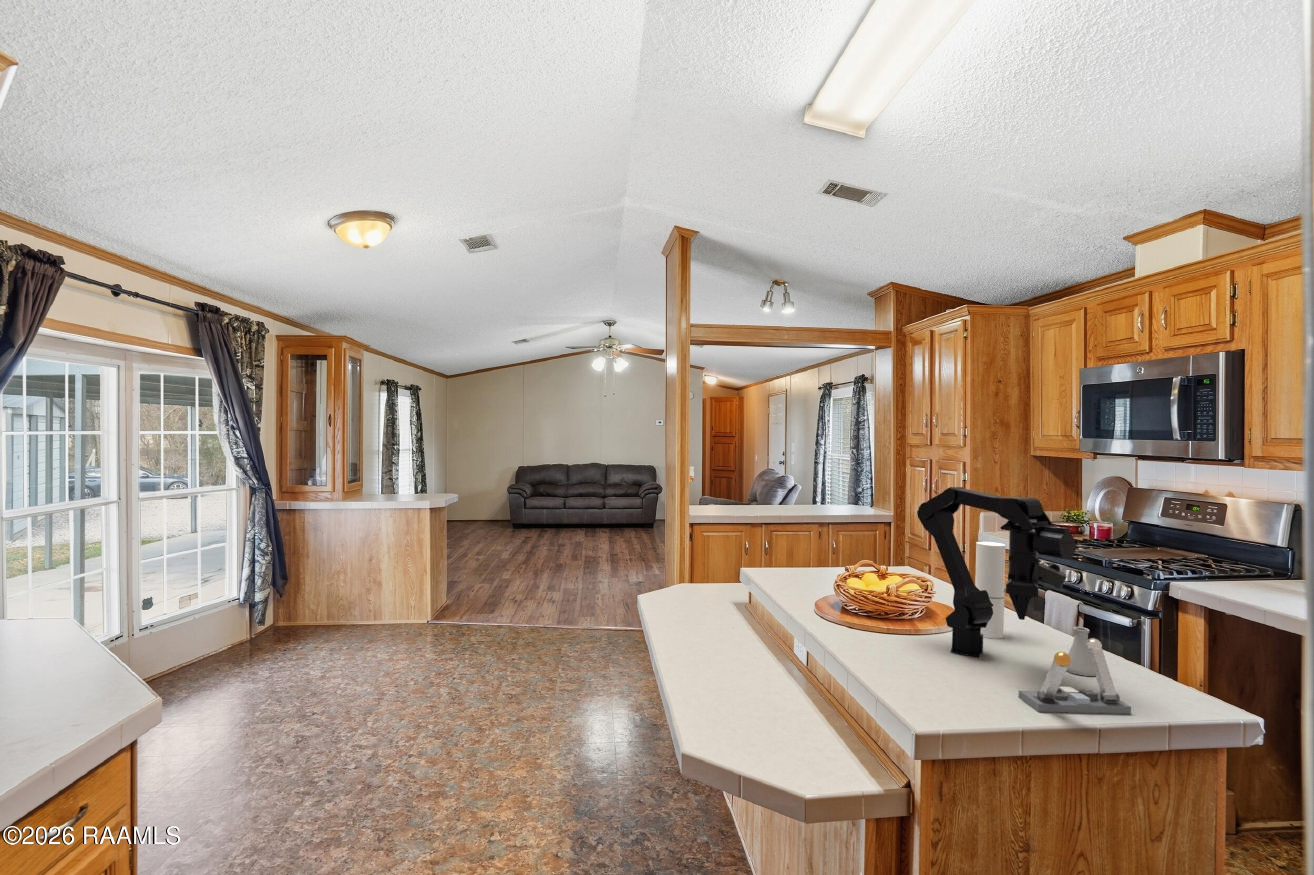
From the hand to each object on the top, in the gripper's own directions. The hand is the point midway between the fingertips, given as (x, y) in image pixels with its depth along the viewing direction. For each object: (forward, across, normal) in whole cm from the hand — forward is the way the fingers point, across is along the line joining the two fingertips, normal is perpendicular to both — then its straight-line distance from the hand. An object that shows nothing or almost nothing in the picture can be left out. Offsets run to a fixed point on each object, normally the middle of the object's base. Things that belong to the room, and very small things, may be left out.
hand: (1021, 619), depth 148 cm
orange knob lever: (+10, -21, -5) cm, 24 cm away
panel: (+12, -17, -9) cm, 23 cm away
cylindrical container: (+12, +28, +8) cm, 32 cm away
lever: (+10, -15, -16) cm, 24 cm away
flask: (+12, +8, -12) cm, 19 cm away
